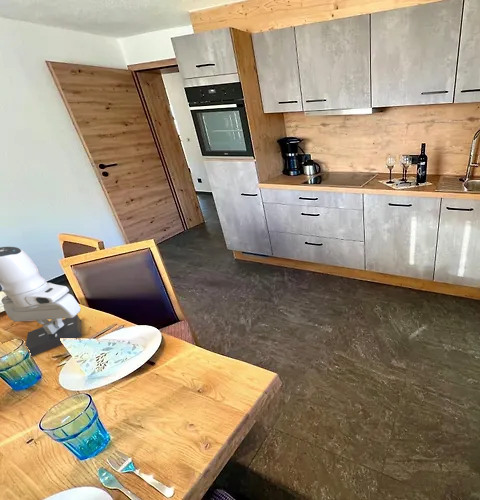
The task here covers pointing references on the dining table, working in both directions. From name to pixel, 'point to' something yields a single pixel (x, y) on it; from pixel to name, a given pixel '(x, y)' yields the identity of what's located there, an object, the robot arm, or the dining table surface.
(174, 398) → the dining table surface
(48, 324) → the stove knob
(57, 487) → the dining table surface
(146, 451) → the dining table surface
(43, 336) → the hob panel
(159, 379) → the dining table surface
